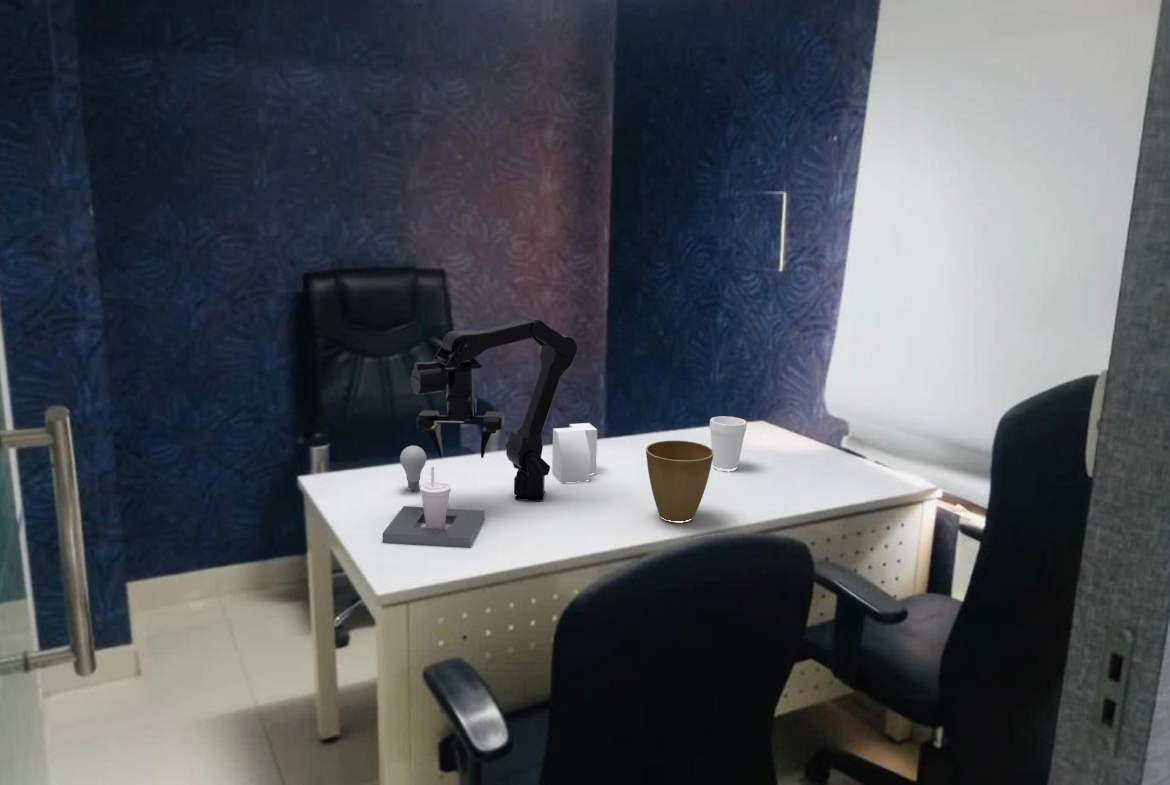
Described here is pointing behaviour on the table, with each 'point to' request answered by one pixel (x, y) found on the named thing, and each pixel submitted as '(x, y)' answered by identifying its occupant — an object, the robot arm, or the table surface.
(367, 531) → the table surface
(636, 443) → the table surface
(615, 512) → the table surface
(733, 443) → the foam cup
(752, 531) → the table surface
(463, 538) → the square plate with hole
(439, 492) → the smoothie
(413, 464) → the lightbulb
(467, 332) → the robot arm
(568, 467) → the white block
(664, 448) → the plant pot
